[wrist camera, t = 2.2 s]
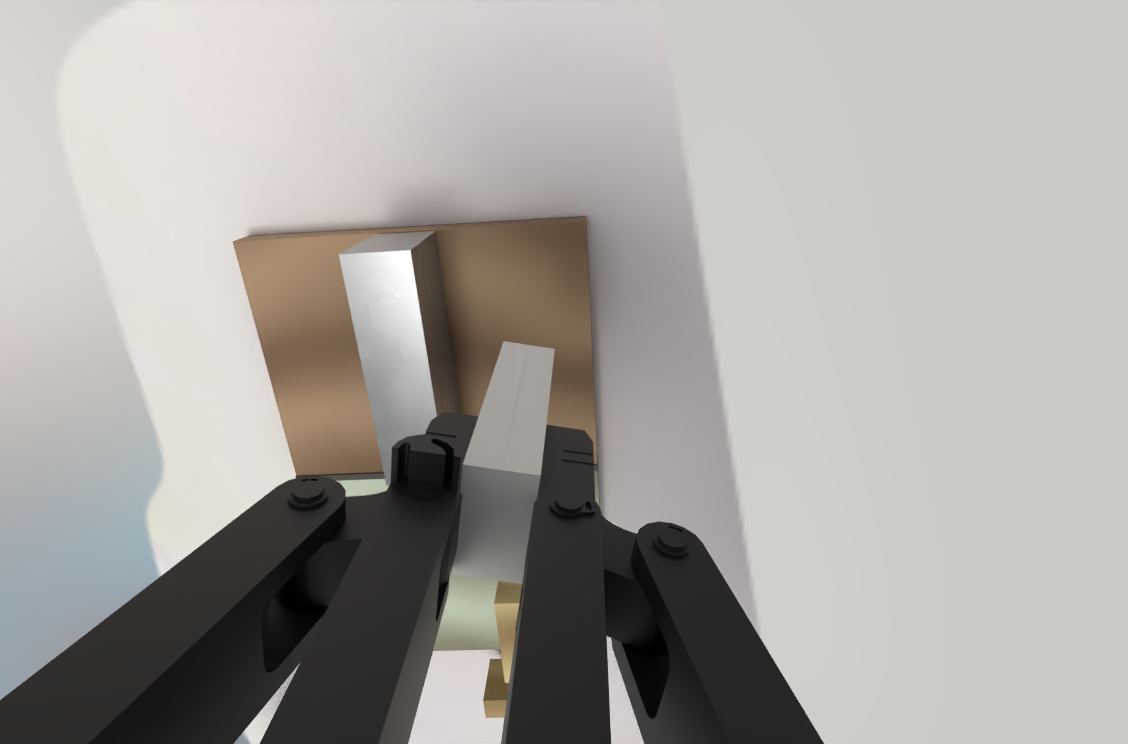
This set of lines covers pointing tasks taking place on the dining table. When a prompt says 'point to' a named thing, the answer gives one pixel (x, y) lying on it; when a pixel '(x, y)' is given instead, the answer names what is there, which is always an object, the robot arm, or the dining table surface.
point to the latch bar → (401, 334)
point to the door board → (478, 329)
